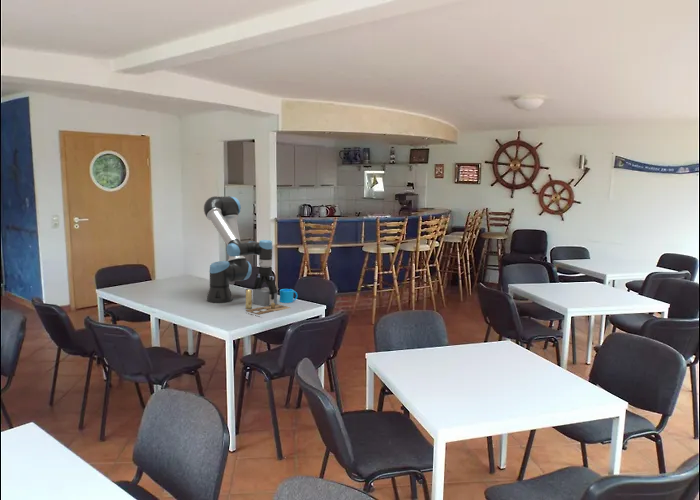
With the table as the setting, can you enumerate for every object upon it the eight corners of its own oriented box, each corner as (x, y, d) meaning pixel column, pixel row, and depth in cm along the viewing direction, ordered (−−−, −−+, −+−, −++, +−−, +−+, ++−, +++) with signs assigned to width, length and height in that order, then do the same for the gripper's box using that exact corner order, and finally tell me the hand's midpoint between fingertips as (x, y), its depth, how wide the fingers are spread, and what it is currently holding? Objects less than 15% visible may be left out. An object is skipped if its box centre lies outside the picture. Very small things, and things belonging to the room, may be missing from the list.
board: (261, 309, 301) (261, 302, 300) (276, 306, 310) (277, 299, 309) (275, 313, 293) (275, 305, 293) (291, 309, 302) (291, 302, 302)
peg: (244, 310, 297) (244, 289, 295) (248, 309, 299) (249, 288, 298) (248, 311, 295) (248, 290, 293) (252, 310, 297) (253, 289, 296)
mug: (284, 305, 312) (284, 292, 311) (277, 302, 318) (277, 289, 317) (301, 303, 320) (301, 290, 319) (293, 300, 326) (293, 287, 325)
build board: (245, 313, 291) (245, 310, 291) (260, 309, 300) (260, 307, 299) (258, 316, 284) (258, 313, 284) (273, 313, 293) (273, 310, 292)
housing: (252, 305, 310) (253, 289, 309) (265, 302, 318) (265, 287, 316) (264, 308, 304) (264, 292, 302) (277, 305, 311) (277, 289, 310)
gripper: (247, 264, 312) (247, 300, 315) (274, 269, 297) (273, 307, 300) (257, 263, 318) (256, 298, 320) (283, 268, 303) (283, 305, 306)
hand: (265, 303), depth 310 cm, fingers open, 11 cm apart
